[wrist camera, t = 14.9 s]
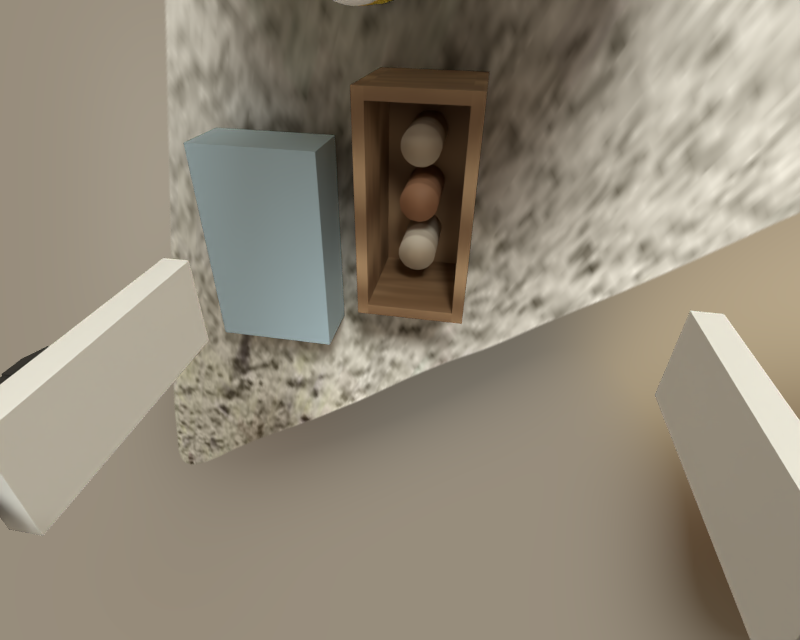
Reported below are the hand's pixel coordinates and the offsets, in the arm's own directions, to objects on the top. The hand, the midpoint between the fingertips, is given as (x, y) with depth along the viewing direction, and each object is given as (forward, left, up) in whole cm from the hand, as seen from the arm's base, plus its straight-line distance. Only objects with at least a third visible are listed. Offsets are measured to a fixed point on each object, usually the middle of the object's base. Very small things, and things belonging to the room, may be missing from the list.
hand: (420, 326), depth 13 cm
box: (+5, -3, -29) cm, 29 cm away
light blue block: (+10, -16, -29) cm, 34 cm away
